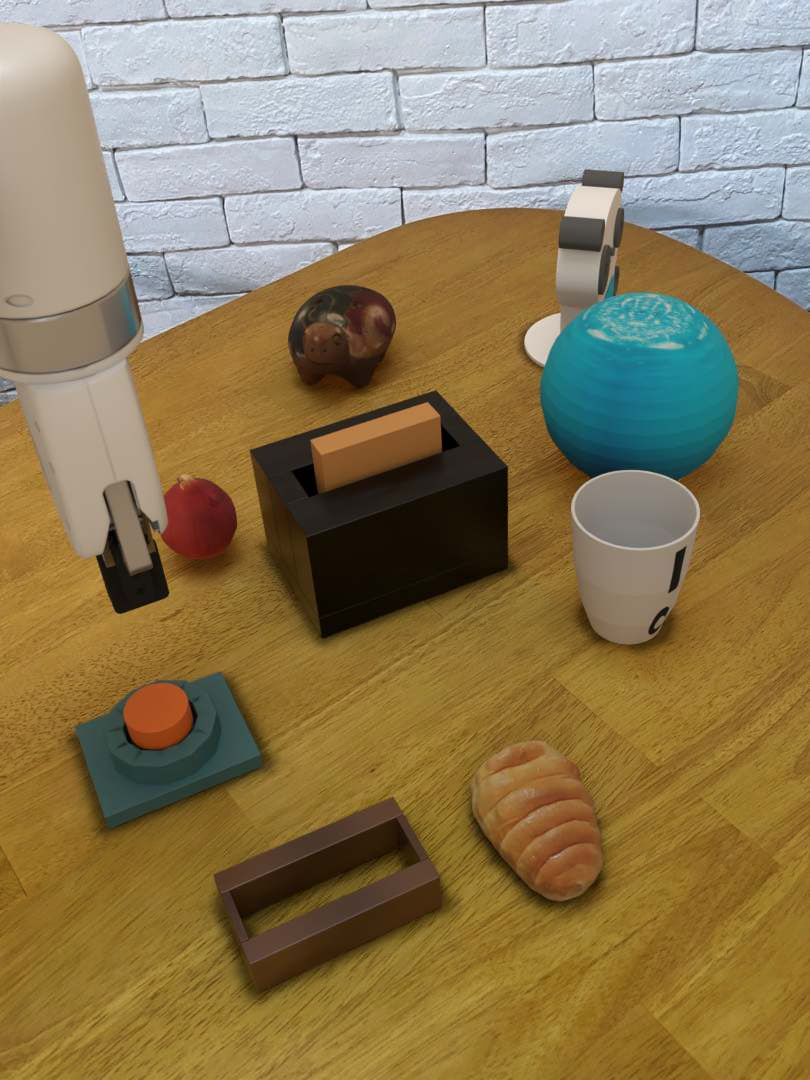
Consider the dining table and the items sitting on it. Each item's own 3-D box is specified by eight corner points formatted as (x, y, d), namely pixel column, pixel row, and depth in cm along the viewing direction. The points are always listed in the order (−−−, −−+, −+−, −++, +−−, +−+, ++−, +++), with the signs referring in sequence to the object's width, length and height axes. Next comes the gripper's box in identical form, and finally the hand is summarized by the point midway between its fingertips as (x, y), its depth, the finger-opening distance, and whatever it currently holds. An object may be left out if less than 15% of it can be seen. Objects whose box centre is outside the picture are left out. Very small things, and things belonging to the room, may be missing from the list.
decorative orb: (511, 503, 89) (511, 338, 80) (572, 402, 99) (579, 244, 90) (700, 548, 84) (725, 377, 74) (744, 437, 94) (772, 273, 84)
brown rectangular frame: (257, 993, 60) (249, 965, 58) (221, 903, 64) (212, 874, 62) (442, 906, 63) (440, 876, 61) (396, 826, 67) (393, 795, 65)
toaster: (322, 639, 79) (306, 537, 73) (267, 548, 87) (249, 449, 81) (508, 568, 84) (508, 466, 77) (441, 488, 91) (436, 389, 85)
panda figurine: (634, 387, 101) (647, 230, 91) (510, 372, 104) (510, 218, 94) (654, 320, 109) (669, 169, 99) (539, 307, 112) (542, 160, 102)
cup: (674, 671, 75) (689, 559, 69) (554, 647, 77) (558, 537, 71) (692, 590, 81) (707, 480, 74) (580, 570, 83) (586, 461, 76)
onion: (218, 522, 90) (200, 440, 85) (258, 557, 86) (242, 474, 81) (154, 555, 87) (131, 473, 82) (193, 593, 84) (172, 510, 78)
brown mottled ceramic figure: (279, 415, 101) (263, 333, 96) (315, 336, 112) (302, 260, 108) (386, 413, 99) (375, 330, 94) (411, 334, 111) (402, 257, 106)
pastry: (632, 883, 63) (636, 844, 61) (522, 925, 62) (522, 886, 59) (559, 759, 70) (560, 719, 68) (458, 794, 69) (455, 755, 66)
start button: (139, 760, 69) (132, 741, 68) (122, 715, 72) (116, 697, 70) (201, 735, 70) (196, 716, 69) (182, 692, 73) (177, 674, 72)
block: (109, 829, 68) (97, 799, 66) (78, 737, 74) (67, 707, 72) (263, 766, 71) (257, 735, 69) (223, 682, 77) (216, 652, 75)
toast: (335, 565, 82) (321, 454, 76) (325, 549, 83) (309, 439, 77) (446, 525, 85) (440, 415, 78) (434, 510, 86) (427, 401, 80)
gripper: (-49, 270, 57) (47, 544, 69) (7, 417, 46) (108, 709, 58) (96, 234, 59) (165, 505, 71) (181, 366, 49) (245, 658, 61)
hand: (139, 597), depth 65 cm, fingers closed
